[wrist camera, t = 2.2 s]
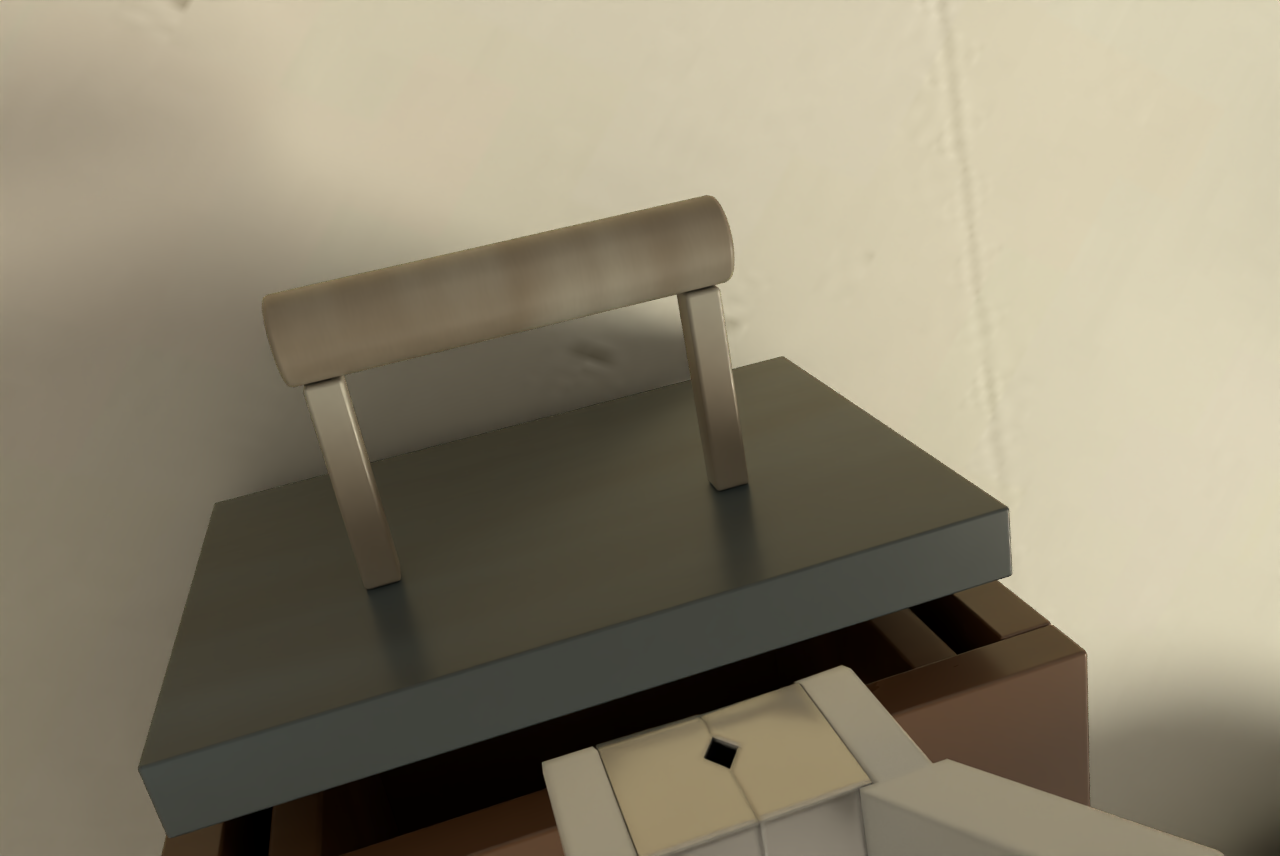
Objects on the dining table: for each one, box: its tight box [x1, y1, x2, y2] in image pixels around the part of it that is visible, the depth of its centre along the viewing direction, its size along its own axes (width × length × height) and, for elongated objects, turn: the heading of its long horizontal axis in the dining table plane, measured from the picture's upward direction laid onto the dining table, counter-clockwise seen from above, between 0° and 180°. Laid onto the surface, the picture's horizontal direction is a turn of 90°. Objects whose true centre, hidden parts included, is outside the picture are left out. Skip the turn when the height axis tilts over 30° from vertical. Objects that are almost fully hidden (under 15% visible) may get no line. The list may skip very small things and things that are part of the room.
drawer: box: [138, 195, 1012, 856], centre depth 20 cm, size 20×13×9 cm, turn 10°
